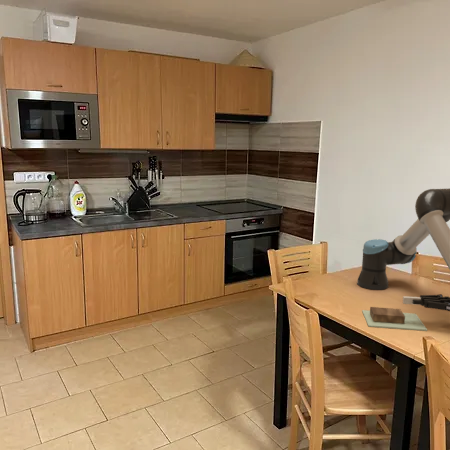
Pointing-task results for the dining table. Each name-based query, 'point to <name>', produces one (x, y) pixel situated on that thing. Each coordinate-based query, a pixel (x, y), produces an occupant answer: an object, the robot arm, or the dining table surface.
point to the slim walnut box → (387, 315)
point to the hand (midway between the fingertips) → (403, 300)
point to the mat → (410, 323)
